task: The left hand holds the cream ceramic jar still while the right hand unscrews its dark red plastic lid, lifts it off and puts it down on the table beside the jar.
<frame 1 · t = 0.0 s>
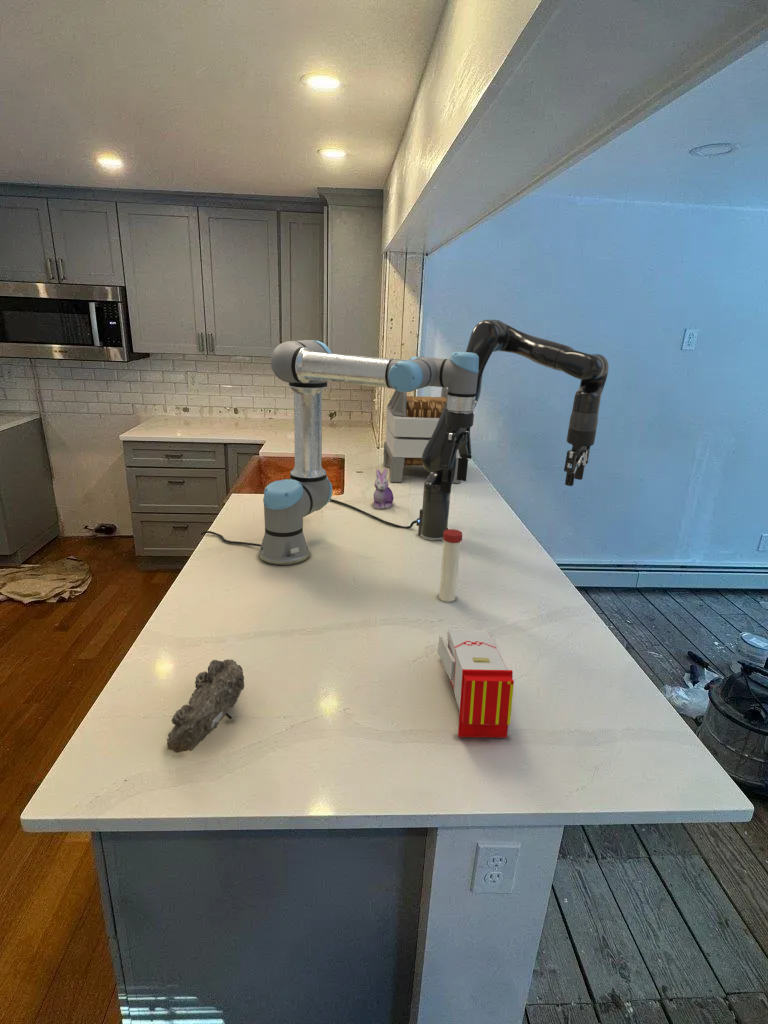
left hand: (453, 486, 161), 28 cm above the counter, tool pointing down, fingers open, 13 cm apart
right hand: (573, 482, 165), 29 cm above the counter, tool pointing down, fingers open, 8 cm apart
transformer: (419, 473, 275), on the counter
figurine: (382, 506, 227), on the counter
toy: (469, 691, 119), on the counter
jar: (447, 597, 157), on the counter
fossil: (212, 717, 108), on the counter
lid: (452, 533, 150), point 19 cm above the counter, screwed on, not yet turned
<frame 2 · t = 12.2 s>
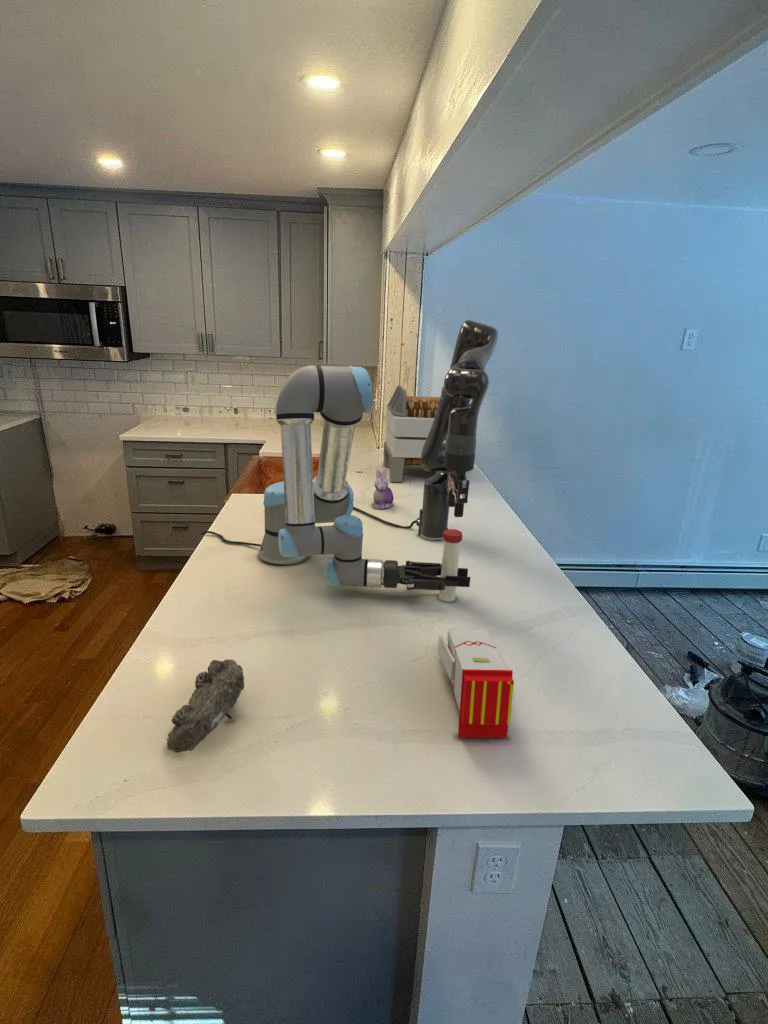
left hand: (468, 577, 155), 7 cm above the counter, tool horizontal, fingers closed on jar, 4 cm apart
right hand: (454, 511, 148), 26 cm above the counter, tool pointing down, fingers open, 7 cm apart
jar: (447, 597, 157), on the counter, touching left hand
everything else where it was.
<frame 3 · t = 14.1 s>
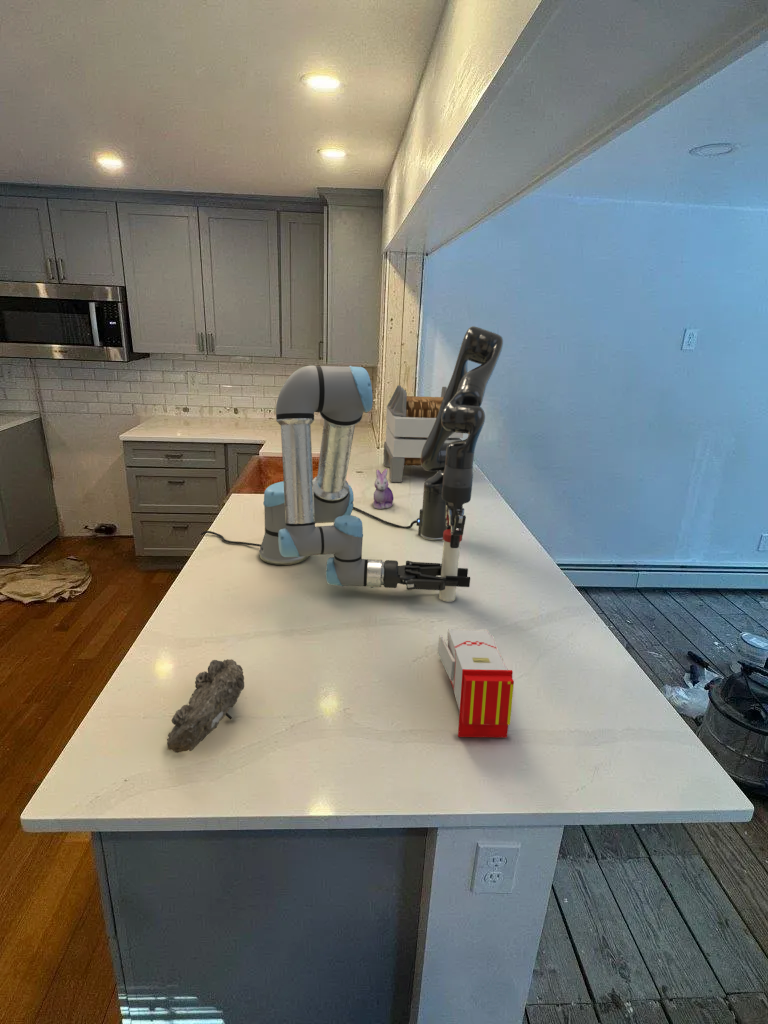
left hand: (468, 577, 155), 6 cm above the counter, tool horizontal, fingers closed on jar, 4 cm apart
right hand: (452, 543, 151), 16 cm above the counter, tool pointing down, fingers closed on lid, 5 cm apart
jar: (446, 597, 157), on the counter, touching left hand
lid: (452, 533, 150), point 19 cm above the counter, screwed on, not yet turned, touching right hand
everything else where it was.
when the right hand's fingers open (17 cm above the counter, at t = 15.5 s): lid stays where it is, point 19 cm above the counter.
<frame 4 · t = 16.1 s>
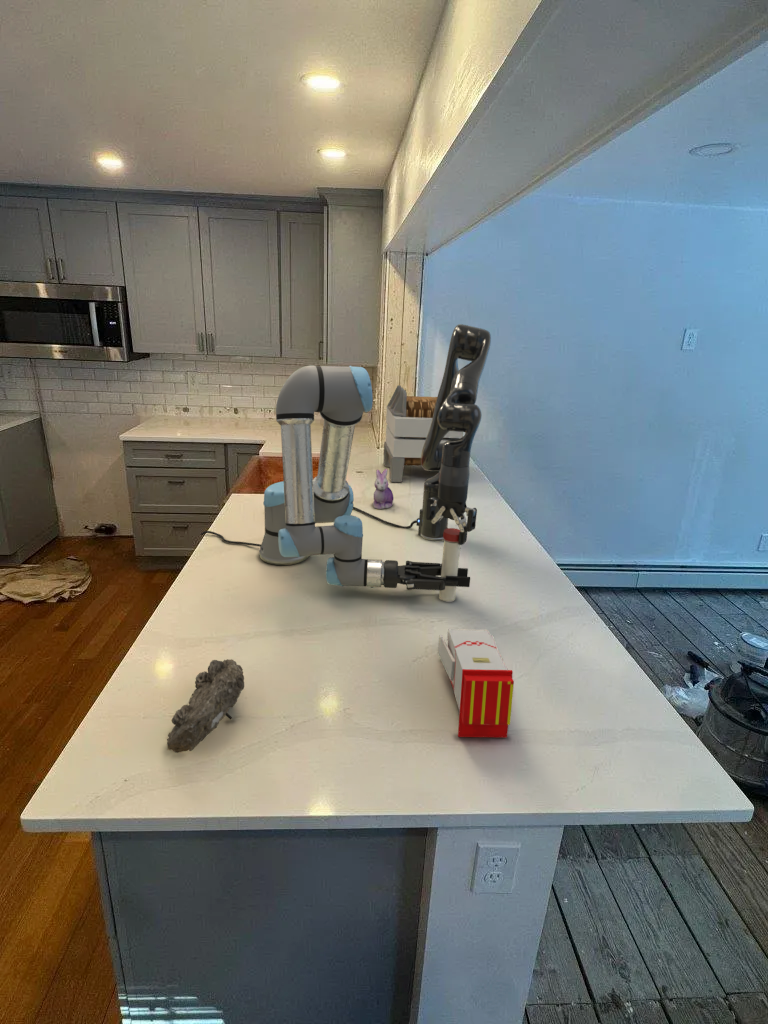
left hand: (468, 577, 155), 7 cm above the counter, tool horizontal, fingers closed on jar, 4 cm apart
right hand: (448, 540, 151), 17 cm above the counter, tool pointing down, fingers open, 7 cm apart
jar: (446, 597, 157), on the counter, touching left hand
lid: (453, 532, 150), point 19 cm above the counter, turned 78° so far, risen 0.3 cm, still on its thread
everything else where it was.
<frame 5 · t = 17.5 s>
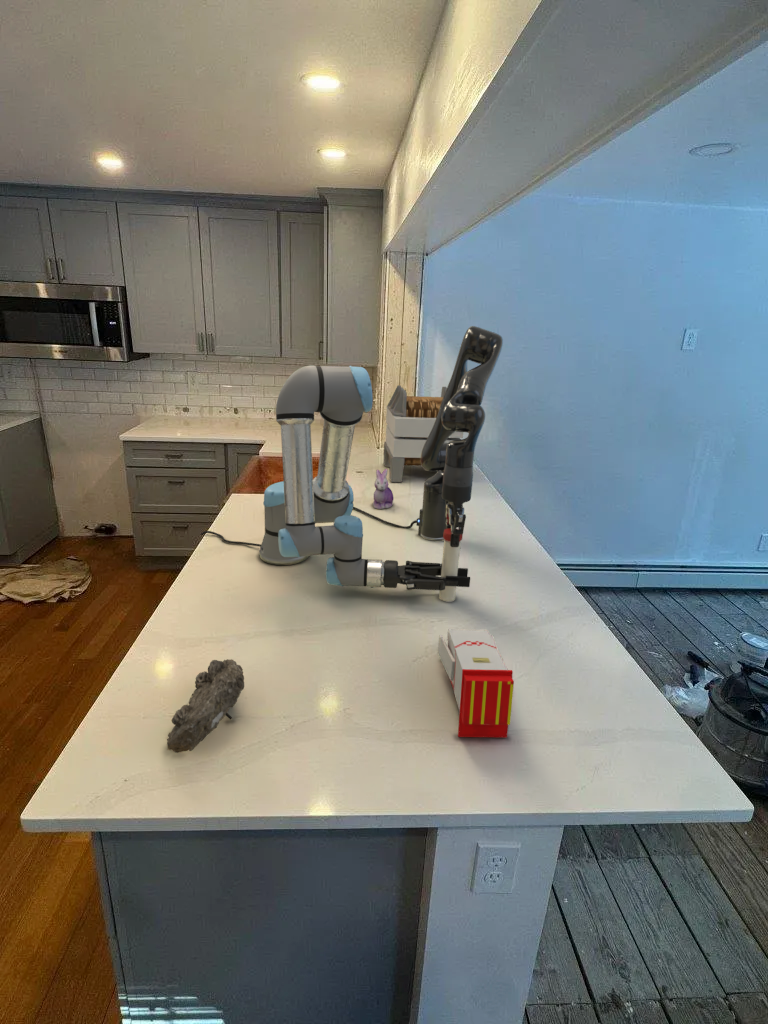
left hand: (468, 577, 155), 7 cm above the counter, tool horizontal, fingers closed on jar, 4 cm apart
right hand: (452, 542, 151), 17 cm above the counter, tool pointing down, fingers closed on lid, 5 cm apart
jar: (446, 597, 157), on the counter, touching left hand
lid: (453, 532, 150), point 19 cm above the counter, turned 78° so far, risen 0.3 cm, still on its thread, touching right hand
everything else where it was.
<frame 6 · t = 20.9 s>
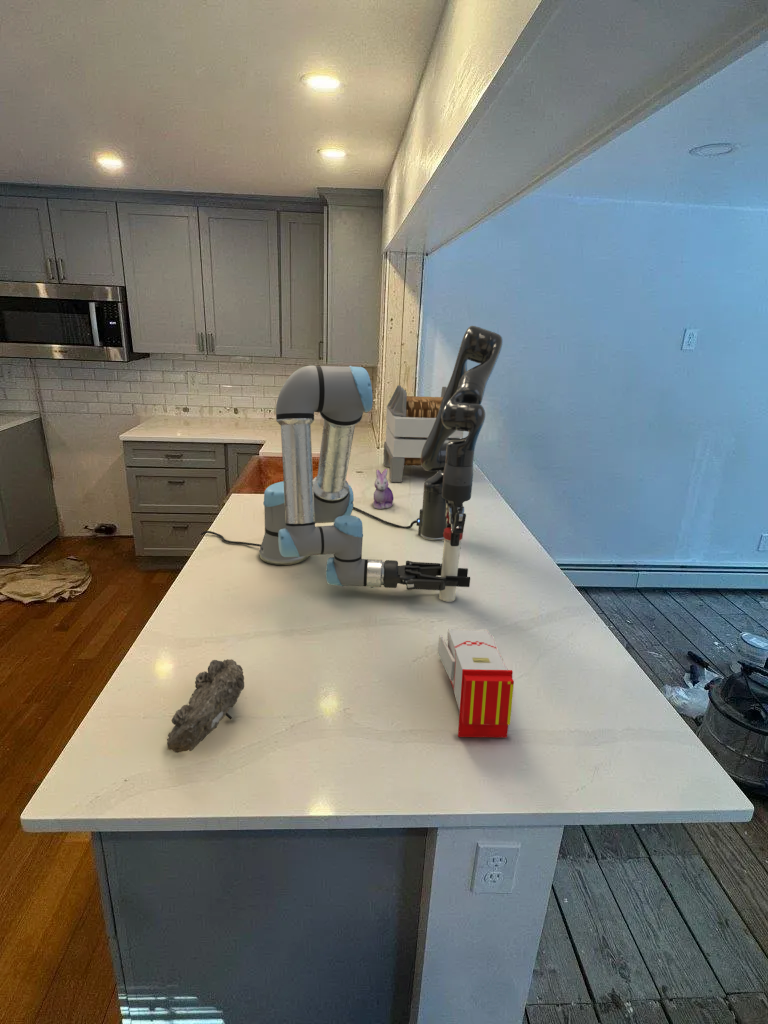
left hand: (468, 577, 155), 7 cm above the counter, tool horizontal, fingers closed on jar, 4 cm apart
right hand: (452, 541, 151), 17 cm above the counter, tool pointing down, fingers closed on lid, 5 cm apart
jar: (447, 597, 157), on the counter, touching left hand
lid: (453, 531, 150), point 20 cm above the counter, turned 156° so far, risen 0.5 cm, still on its thread, touching right hand
everything else where it was.
when the right hand's fingers open (0 cm above the counter, at t = 28.7 s): lid drops 2 cm, point 2 cm above the counter.
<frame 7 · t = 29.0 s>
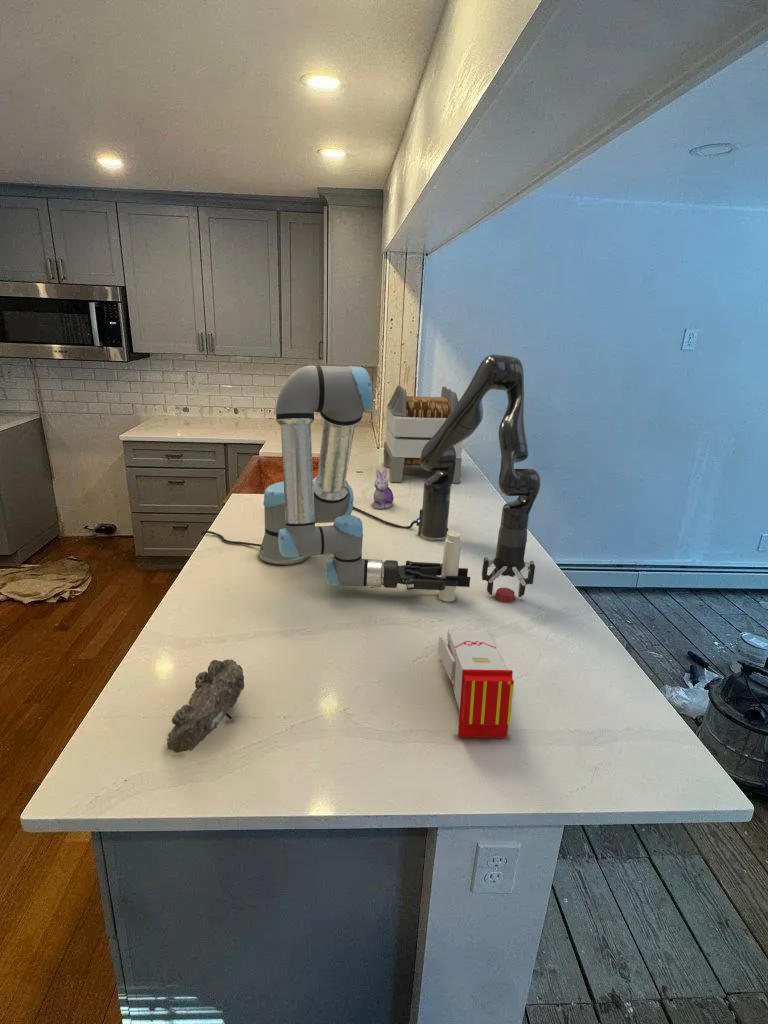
left hand: (468, 577, 155), 7 cm above the counter, tool horizontal, fingers closed on jar, 4 cm apart
right hand: (504, 594, 158), 1 cm above the counter, tool pointing down, fingers open, 7 cm apart
jar: (446, 597, 157), on the counter, touching left hand
lid: (505, 592, 158), point 2 cm above the counter, off its thread
everything else where it was.
when the left hand's fingers open (7 cm above the counter, at t = 29.6 s): jar stays where it is, on the counter.
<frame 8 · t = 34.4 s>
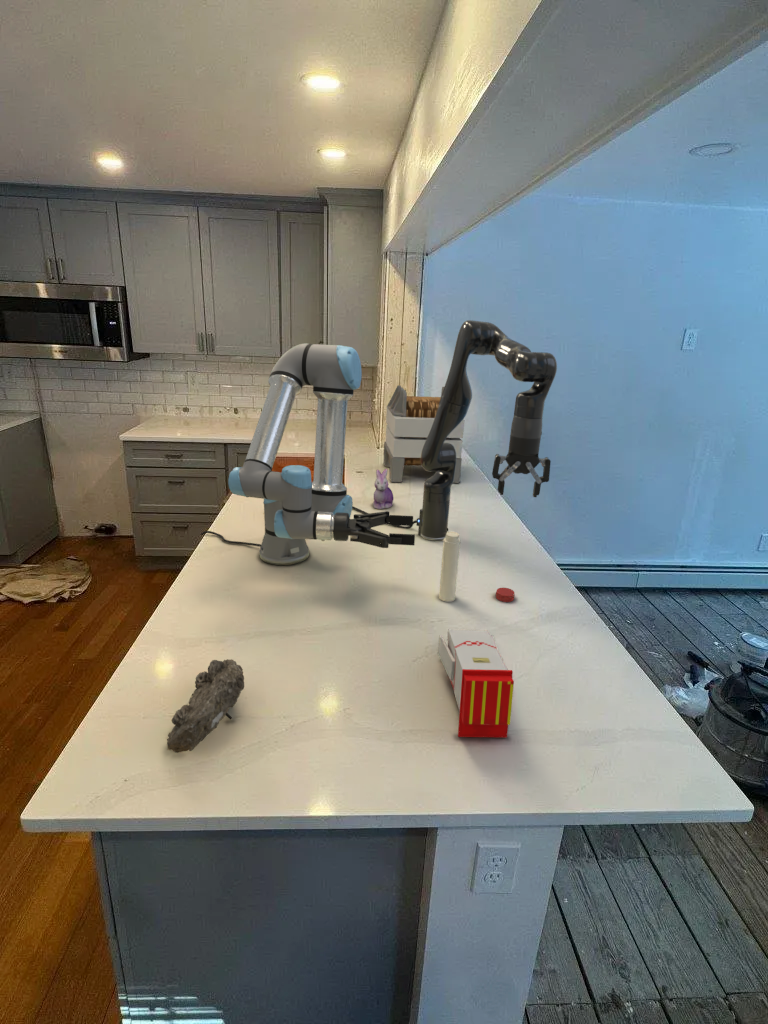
left hand: (413, 530, 150), 20 cm above the counter, tool horizontal, fingers open, 13 cm apart
right hand: (517, 495, 148), 30 cm above the counter, tool pointing down, fingers open, 8 cm apart
jar: (446, 597, 157), on the counter
everything else where it was.
at the end: lid came off its thread; lid point 1.6 cm above the counter; the left hand is holding nothing; the right hand is holding nothing; jar tilted 0°; jar moved 0.0 cm from its start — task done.
